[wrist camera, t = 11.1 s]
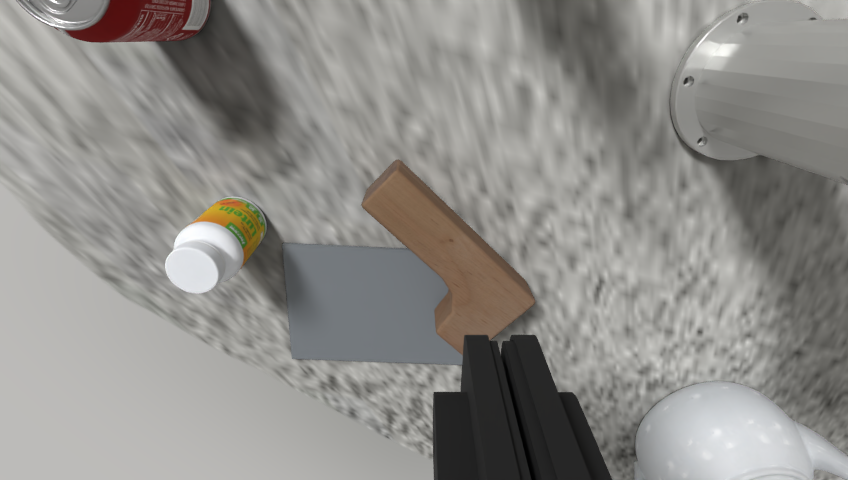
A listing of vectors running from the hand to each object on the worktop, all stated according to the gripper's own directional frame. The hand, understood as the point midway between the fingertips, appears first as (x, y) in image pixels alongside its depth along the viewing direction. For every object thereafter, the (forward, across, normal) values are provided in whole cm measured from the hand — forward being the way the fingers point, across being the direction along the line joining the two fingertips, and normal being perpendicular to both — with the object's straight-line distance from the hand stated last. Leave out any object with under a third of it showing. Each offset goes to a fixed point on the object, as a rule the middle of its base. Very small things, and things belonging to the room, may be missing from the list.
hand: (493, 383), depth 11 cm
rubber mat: (+31, +5, +18) cm, 36 cm away
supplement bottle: (+31, +19, +9) cm, 37 cm away
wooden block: (+28, -6, +18) cm, 34 cm away
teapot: (+31, -33, +36) cm, 58 cm away
